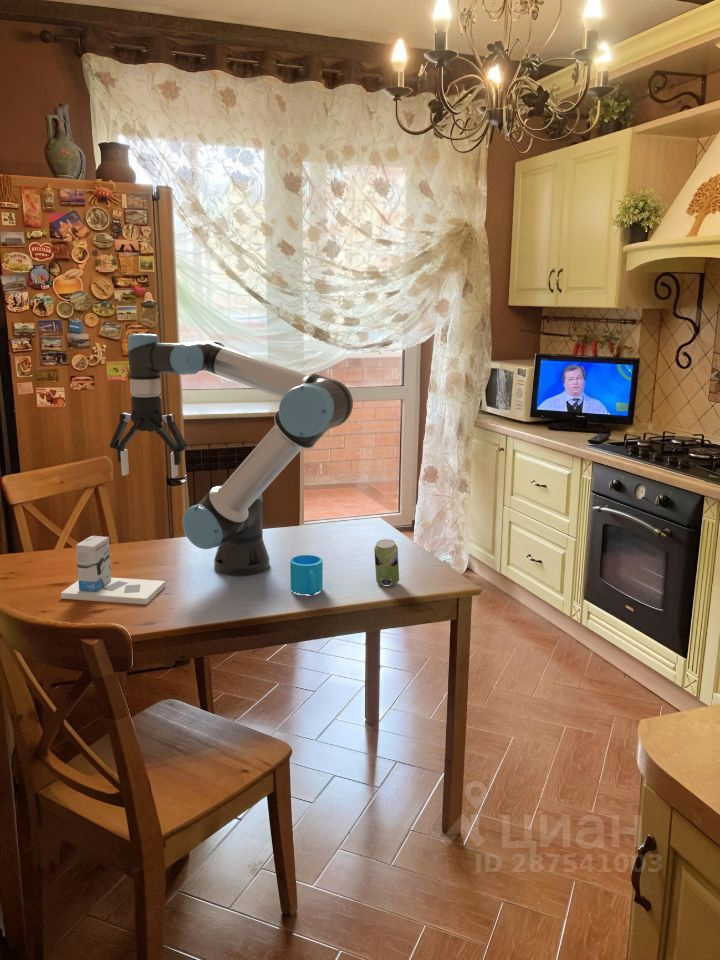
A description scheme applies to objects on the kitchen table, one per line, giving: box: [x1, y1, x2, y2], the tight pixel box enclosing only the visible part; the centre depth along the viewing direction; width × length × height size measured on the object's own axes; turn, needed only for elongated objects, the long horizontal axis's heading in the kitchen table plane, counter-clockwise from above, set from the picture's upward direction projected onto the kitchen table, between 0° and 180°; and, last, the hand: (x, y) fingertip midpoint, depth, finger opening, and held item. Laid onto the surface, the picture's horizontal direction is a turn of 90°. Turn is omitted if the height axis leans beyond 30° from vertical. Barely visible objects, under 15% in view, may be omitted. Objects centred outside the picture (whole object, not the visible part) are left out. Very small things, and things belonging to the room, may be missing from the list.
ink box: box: [75, 535, 112, 591], centre depth 190 cm, size 8×5×12 cm, turn 171°
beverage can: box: [373, 539, 400, 586], centre depth 197 cm, size 6×7×12 cm
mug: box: [289, 554, 324, 596], centre depth 192 cm, size 12×8×8 cm
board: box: [60, 577, 167, 605], centre depth 191 cm, size 22×12×2 cm, turn 82°
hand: (150, 475), depth 200 cm, fingers open, 13 cm apart
